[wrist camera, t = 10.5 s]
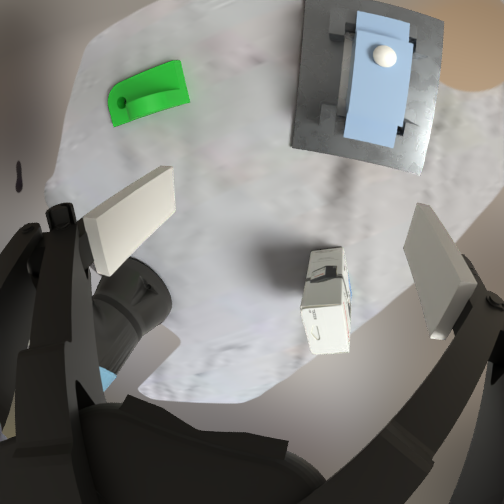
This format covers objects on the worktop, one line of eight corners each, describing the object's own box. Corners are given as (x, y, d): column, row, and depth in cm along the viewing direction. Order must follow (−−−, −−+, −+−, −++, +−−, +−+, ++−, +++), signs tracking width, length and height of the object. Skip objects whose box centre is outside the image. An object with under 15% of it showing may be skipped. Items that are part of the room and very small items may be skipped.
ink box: (352, 293, 43) (350, 354, 34) (320, 297, 45) (311, 356, 36) (344, 245, 39) (343, 303, 30) (309, 250, 41) (297, 307, 32)
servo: (342, 128, 31) (344, 142, 24) (353, 22, 23) (359, 4, 16) (384, 137, 30) (398, 154, 23) (397, 32, 22) (416, 18, 16)
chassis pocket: (292, 147, 34) (285, 158, 30) (306, -9, 23) (300, -24, 18) (419, 174, 31) (431, 190, 27) (442, 22, 20) (459, 14, 15)
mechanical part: (180, 60, 31) (145, 60, 25) (190, 102, 34) (157, 110, 28) (112, 88, 35) (74, 96, 29) (122, 124, 38) (85, 137, 32)
